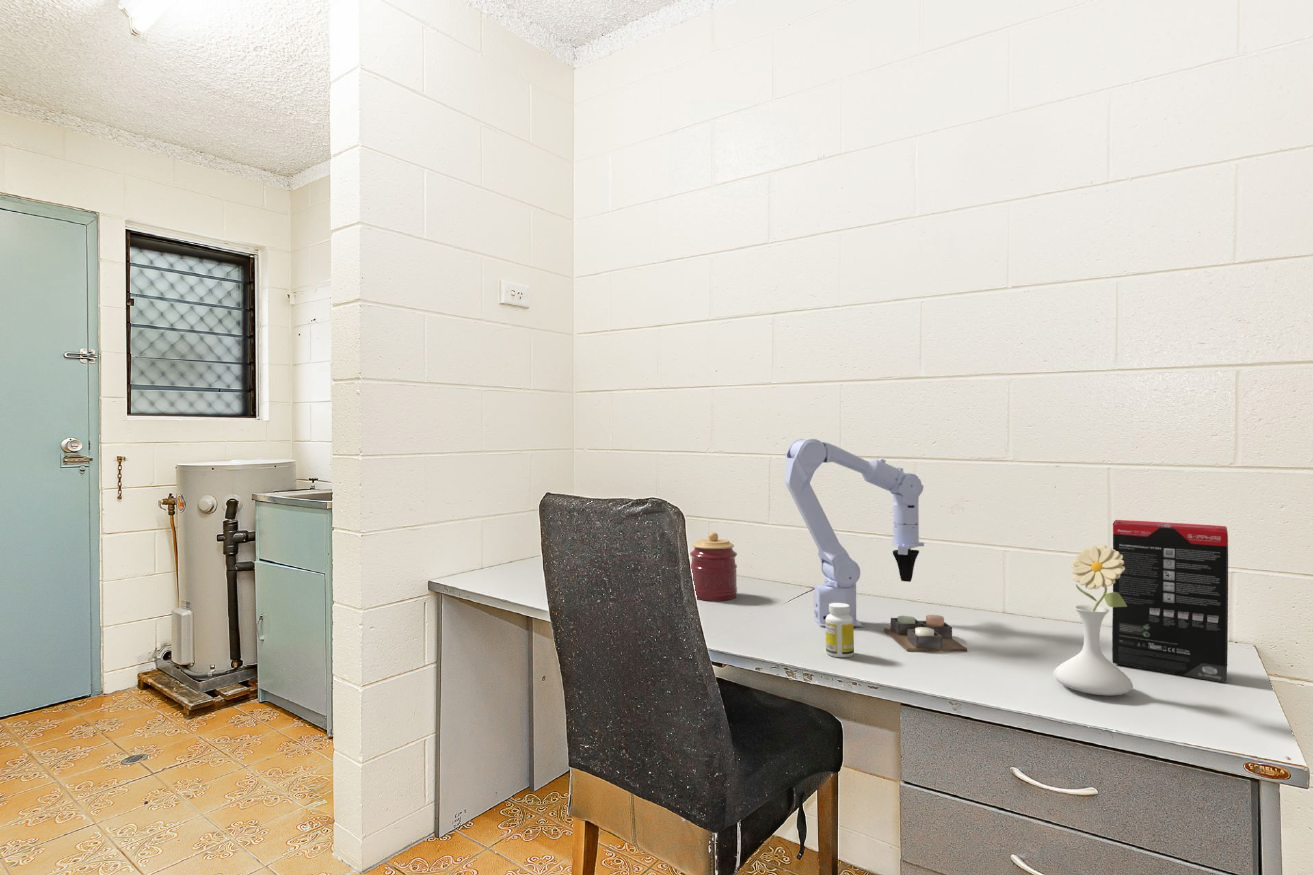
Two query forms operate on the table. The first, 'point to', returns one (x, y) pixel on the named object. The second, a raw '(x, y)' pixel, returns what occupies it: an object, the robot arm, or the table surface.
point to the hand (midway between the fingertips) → (906, 581)
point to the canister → (714, 569)
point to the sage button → (906, 619)
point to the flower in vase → (1095, 626)
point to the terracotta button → (934, 621)
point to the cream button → (924, 631)
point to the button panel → (923, 637)
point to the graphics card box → (1172, 598)
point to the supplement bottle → (839, 631)
